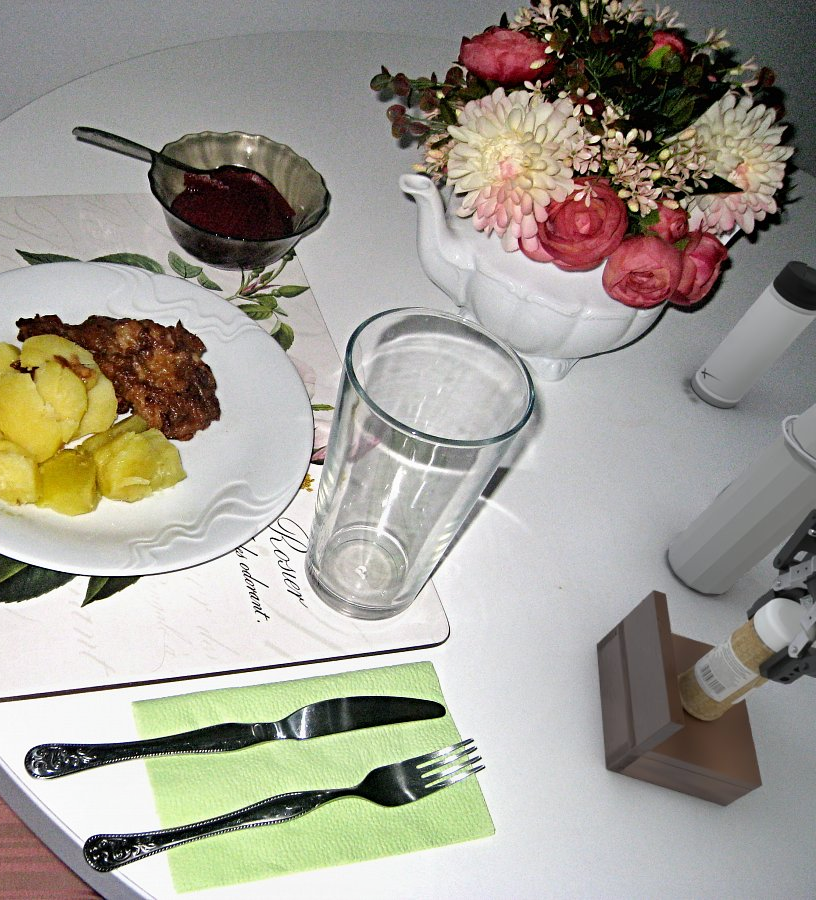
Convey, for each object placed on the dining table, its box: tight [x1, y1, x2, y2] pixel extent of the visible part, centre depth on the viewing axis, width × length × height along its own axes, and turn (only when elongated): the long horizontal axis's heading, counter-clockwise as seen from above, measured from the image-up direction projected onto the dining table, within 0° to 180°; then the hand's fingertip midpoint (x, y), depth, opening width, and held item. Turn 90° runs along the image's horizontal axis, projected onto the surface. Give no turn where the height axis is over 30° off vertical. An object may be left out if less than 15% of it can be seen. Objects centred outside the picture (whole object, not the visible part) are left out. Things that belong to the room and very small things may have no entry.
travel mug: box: [691, 260, 816, 409], centre depth 111 cm, size 6×7×20 cm
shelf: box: [596, 589, 763, 807], centre depth 79 cm, size 11×13×10 cm
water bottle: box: [667, 402, 816, 595], centre depth 88 cm, size 9×8×25 cm
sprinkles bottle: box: [678, 598, 816, 721], centre depth 74 cm, size 5×5×13 cm
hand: (764, 646), depth 72 cm, fingers closed on sprinkles bottle, 4 cm apart
